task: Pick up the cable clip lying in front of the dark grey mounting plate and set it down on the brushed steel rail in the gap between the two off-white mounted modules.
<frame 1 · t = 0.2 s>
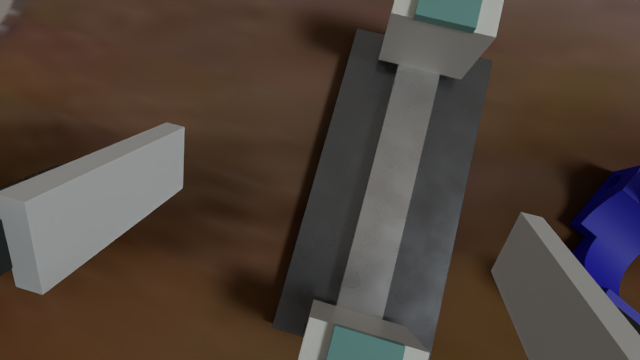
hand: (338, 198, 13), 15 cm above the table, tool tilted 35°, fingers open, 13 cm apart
cable clip: (588, 243, 28), on the table
mounted modules: (399, 176, 24), on the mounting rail, point 5 cm above the table
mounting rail: (386, 187, 29), on the table
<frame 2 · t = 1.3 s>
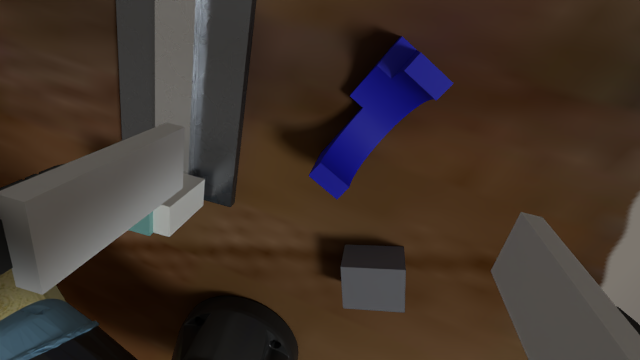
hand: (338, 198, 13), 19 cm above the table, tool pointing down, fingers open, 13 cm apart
cable clip: (370, 109, 31), on the table
mounted modules: (150, 69, 27), on the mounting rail, point 5 cm above the table
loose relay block: (374, 264, 37), on the table
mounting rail: (185, 64, 32), on the table
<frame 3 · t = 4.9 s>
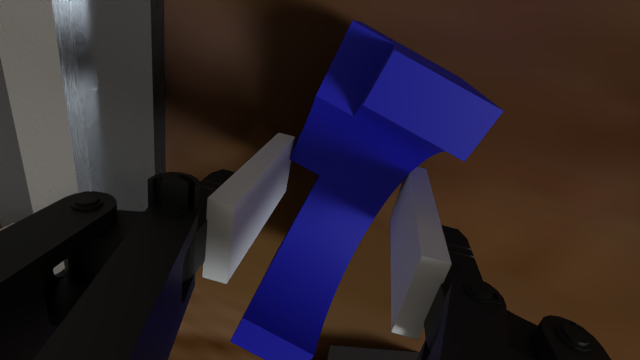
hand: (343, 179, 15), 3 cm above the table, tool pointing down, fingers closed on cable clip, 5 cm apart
cable clip: (340, 169, 16), point 2 cm above the table, touching gripper
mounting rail: (66, 74, 19), on the table
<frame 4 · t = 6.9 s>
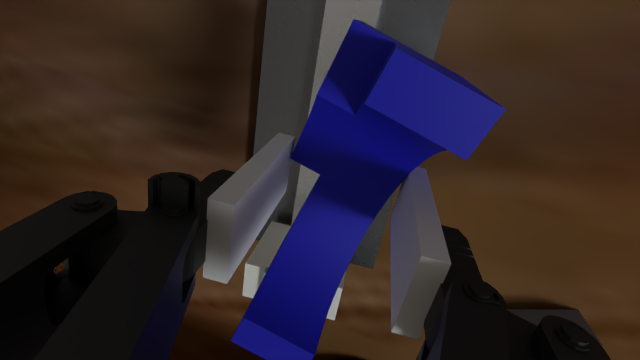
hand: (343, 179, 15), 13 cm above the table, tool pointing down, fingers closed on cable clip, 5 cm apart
cable clip: (341, 168, 16), point 12 cm above the table, touching gripper
mounted modules: (324, 128, 22), on the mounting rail, point 5 cm above the table
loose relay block: (536, 329, 32), on the table
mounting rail: (335, 111, 27), on the table
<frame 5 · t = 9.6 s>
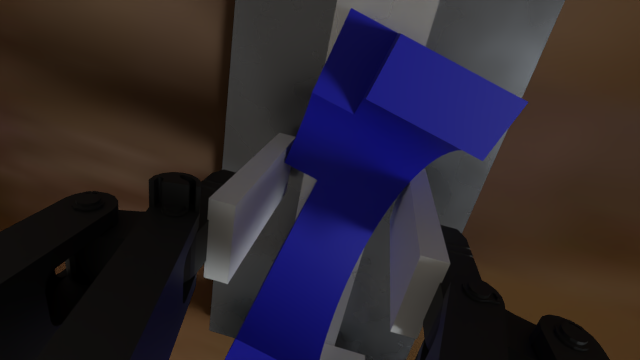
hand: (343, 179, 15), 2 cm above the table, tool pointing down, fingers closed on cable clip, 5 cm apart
cable clip: (339, 173, 15), point 2 cm above the table, touching gripper, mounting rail
mounted modules: (332, 214, 12), on the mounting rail, point 5 cm above the table
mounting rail: (348, 163, 17), on the table
when the fingers open (2 cm above the table, at t = 9.9 s): cable clip stays where it is, resting on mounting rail.
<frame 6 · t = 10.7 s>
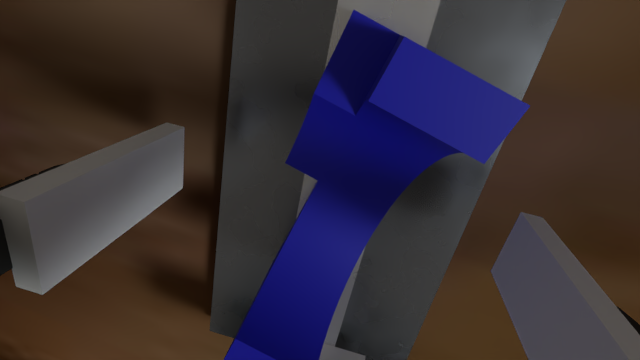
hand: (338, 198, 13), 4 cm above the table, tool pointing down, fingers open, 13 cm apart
cable clip: (340, 173, 15), point 2 cm above the table, touching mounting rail
mounted modules: (332, 215, 12), on the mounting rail, point 5 cm above the table
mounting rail: (348, 163, 17), on the table
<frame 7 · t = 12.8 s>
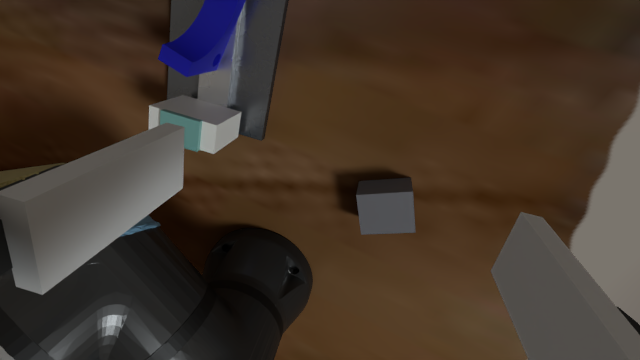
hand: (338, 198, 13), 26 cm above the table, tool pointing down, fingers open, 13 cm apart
cable clip: (220, 4, 34), point 2 cm above the table, touching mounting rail
mounted modules: (206, 3, 31), on the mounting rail, point 5 cm above the table
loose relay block: (386, 197, 41), on the table
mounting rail: (230, 6, 36), on the table
yellow and brown statuette: (14, 209, 54), on the table
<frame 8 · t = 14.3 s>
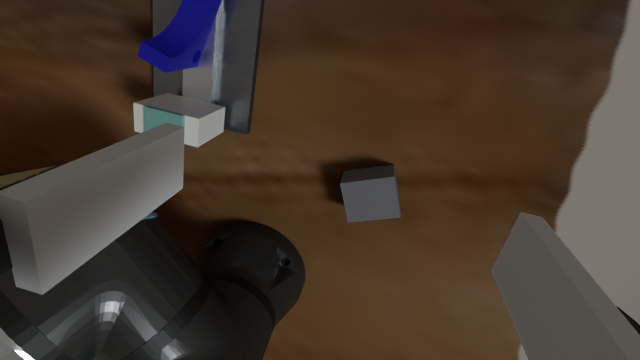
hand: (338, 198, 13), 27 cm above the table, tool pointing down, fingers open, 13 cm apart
cable clip: (198, 2, 35), point 2 cm above the table, touching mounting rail
mounted modules: (183, 1, 32), on the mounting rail, point 5 cm above the table
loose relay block: (371, 186, 42), on the table
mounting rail: (209, 4, 37), on the table
yellow and brown statuette: (12, 213, 55), on the table
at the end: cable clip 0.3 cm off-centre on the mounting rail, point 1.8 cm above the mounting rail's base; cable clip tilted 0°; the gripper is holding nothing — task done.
